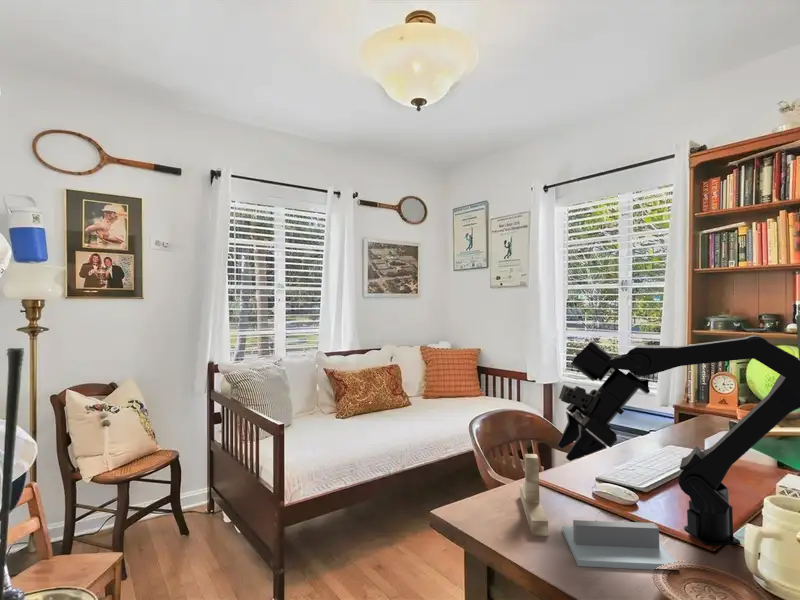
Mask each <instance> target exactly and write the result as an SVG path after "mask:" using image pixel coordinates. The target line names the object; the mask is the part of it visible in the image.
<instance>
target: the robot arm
mask: <svg viewBox="0 0 800 600" xmlns="http://www.w3.org/2000/svg"><path fill="white" fill-rule="evenodd" d="M747 359H753V360H756V361H758V362H759V363H761V364H762V365H765V367H767V368H769V369H771V370H772V371H774V372H776V373H777V374H779V376H778V377H777V379H776V380H775V382H774V384H773V385H772V387H771V389H770V391H769V392H768V393H767V395H766V396H765V397H764V398H762V400H760V401H759V403H757V404H756V405H755V406H754V407H753V408H752V409H751V410H750V411H749V412H747V413H746V415H745V416H743V417H742V418H741V419H740V420H739V421H738V422H737V423H736V424H735V425H734V426H733V427H731V429H729V430H728V431H727V432H726V433H725V434H724V435H723V436H722V437H721V438H720V439H719V440H718V441H717V442H715V443H714V444H713V445H712V446H710V447H709V448H706V449H704V450H702V449H700V447H699V446H697V445H696V446H694V447H693V449H692V450H691V452H690V453H689V454H688V455H687V456H684V457H682V458H681V461H680V465H679V469H680V470H679V474H678V478H677V481H678V485H679V488H680V489H681V491H682V492H683V493H684V494H685V495H687V496H688V497H689V499H690V500H688V508H687V510H686V514H687V515H686V518H687V522H686V523H687V525H684V526H683V529H684V530H685V531H686V532H688V533H689V534H690V535H691V536H693V537H694V538H695V539H697V540H698V541H700V542H701V543H702V544H705V545H706V546H726V545H741V540H739V539H738V538H737V537H735V536H734V516H733V513H734V512H733V506H732V505H730V493H729V490H730V489H729V488H728V486H726V485H725V484H724V483H723V480H724V479H725V477H726V475H727V473H728V471H729V470H730V468H732V466H733V465H734V464H735V463H736V462H737V461H738V460H739V459H741V458H742V457H743V456H744V455H745V454H746V453H747V452H749V450H750V449H752V448H753V447H754V446H755V445H756V444H757V443H758V442H759V441H760V440H762V438H764V437H765V436H766V435H768V433H769V432H770V431H772V430H773V429H774V428H775V427H776V426H777V425H778V424H780V422H782V421H783V420H784V419H785V418H786V417H787V416H788V415H790V414H791V413H792V412H794V411H796V410H798V409H800V358H799V357H797V356H795V355H793V354H792V353H790V352H788V351H786V350H784V349H782V348H781V347H779V346H777V345H774V344H773V343H771V342H770V341H768V340H767V339H766V338H765V337H763V336H760V335H753V334H751V335H749V336H745V337H741V338H732V339H725V340H724V339H723V340H717V341H710V342H702V343H701V342H699V343H694V344H693V343H692V344H684V345H677V346H676V345H670V346H669V345H661V344H660V345H659V344H658V345H657V344H655V345H654V344H653V345H652V344H640V345H637V346H635V347H633V348H632V349H630V350H628V352H627V353H625V354H617V355H615V356H613V355H611V354H610V353H609V352H607V351H606V350H604V349H603V348H601V347H600V346H599V344H597V343H596V342H595V341H590V342H589V343H588V344H587V345H586V346H585V347H584V348H583V349H582V350H581V351H580V352H578V353H577V354H576V355H575V357H574V358H573V360H572V362H571V363H570V365H571V366H572V367H574V368H575V369H576V370H578V371H579V372H580V373H582V374H583V375H584V376H586V377H587V378H588V379H589V380H590V381H592V382H594V381H600V382H601V381H603V380H604V378H606V376H607V375H608V374H609V372H611V371H612V373H611V374H610V375H609V376H608V377H607V378H606V380H605V381H604V382H603V383H602V384H601V386H600V387H599V388H598V389H592V390H591V391H590V392H589V393H588V392H587V389H585V388H583V387H579V386H578V385H577V386H575V387H572V386H571V385H570V386H569V385H566V384H563V385H562V388H561V391H560V393H559V395H558V399H559V400H560V401H561V402H564V403H565V404H568V406H567V407H566V410H567V411H565V413H566V418H567V424H566V426H565V428H564V431H563V433H562V435H561V437H560V439H559V441H558V443H557V446H558V447H559V448H561V449H564V448H565V447H567V446H570V445H572V446H571V447H570V449H569V451H568V452H567V454H566V456H565V458H566V460H568V461H569V462H572V461H574V460H577V459H579V458H581V457H585V456H586V455H589V454H591V453H594V452H597V451H600V450H602V449H607V448H608V447H609V448H612V447H613V446H614V445H615V444H616V442H617V441H618V439H617V438H618V436H617V433H616V432H615V431H613V430H612V429H611V427H612V426H611V425H610V423H611V422H612V421H613V420H614V419H615V417H616V416H617V415H618V414H619V415H620V416H621V415H622V414H623V413H625V410H623V408H624V407H625V405H627V404H628V402H630V400H631V399H632V398H633V397H634V396H635V394H636V393H637V391H641V392H642V393H643V394H645V395H649V393H650V392H651V391H650V388H649V382H650V381H649V380H648V379H640V378H639V377H647V376H651V375H655V374H659V373H662V372H665V371H668V370H671V369H674V368H675V369H676V368H678V367H684V366H692V365H704V364H711V363H713V364H714V363H720V362H730V361H739V360H741V361H742V360H747ZM623 371H628V372H627V373H624V372H623ZM572 443H573V444H572ZM605 444H606V445H605Z"/></svg>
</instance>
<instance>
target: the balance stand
mask: <svg viewBox="0 0 800 600" xmlns="http://www.w3.org/2000/svg"><path fill="white" fill-rule="evenodd" d="M572 523H573V524H572V525H573V526H571V525H570V526H568V525H567V526H566V525H562V526H561V531H562V534H563V536H564V538H565V541H566V543H567V544H568V547H569V549H570V551H571V554H572V556H573V558H574V561H575V563H576V565H577V567H586V568H587V567H589V568H610V569H611V568H612V569H629V570H633V569H634V570H650V571H651V570H652V571H653V570H654V569H656V568H657V567H659V566H661V565H663V564H667V563H673V562H677V560H676V559H675V558H674V556H672V554H671V553H670V552H669V551H668V549H666V547H665V545H663V544H662V543H661V541H660V528H659V526H658V525H657V524H655V523H654V522H638V521H637V522H635V521H607V520H605V521H603V520H581V519H580V520H578V519H577V520H576V519H572Z"/></svg>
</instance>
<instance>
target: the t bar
mask: <svg viewBox="0 0 800 600" xmlns="http://www.w3.org/2000/svg"><path fill="white" fill-rule="evenodd" d="M523 455H524V458H523V459H524V484H522V483H519V498H520V501H521V505H522V507H523V510H524V513H525V517H526V520H527V523H528V526H529V528H530V532H531V535H532V536H539V537H541V536H542V537H548V536H549V520H548V517H547V516H546V513H545V510H544V507H543V506H542V503H541V501H540V475H539V473H540V472H539V471H540V470H539V466H540V464H539V456H538V455H537V454H536V453H524V454H523Z"/></svg>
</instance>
